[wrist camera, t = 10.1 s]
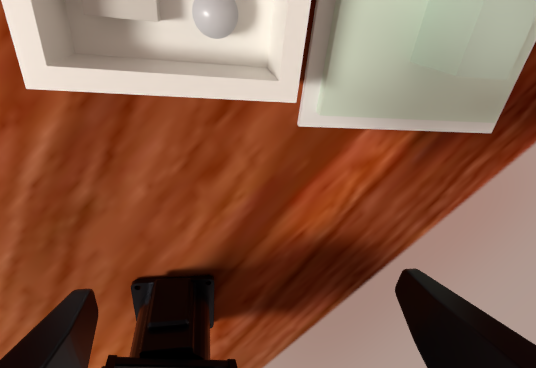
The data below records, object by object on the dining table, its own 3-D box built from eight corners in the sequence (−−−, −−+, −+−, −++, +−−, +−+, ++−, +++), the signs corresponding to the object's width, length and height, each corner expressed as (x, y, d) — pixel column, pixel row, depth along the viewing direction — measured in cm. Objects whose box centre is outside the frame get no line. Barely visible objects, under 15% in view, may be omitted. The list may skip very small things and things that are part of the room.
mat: (487, 131, 24) (491, 133, 23) (297, 124, 21) (298, 126, 20) (616, -142, 16) (624, -145, 16) (349, -216, 13) (352, -220, 13)
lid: (486, 119, 23) (547, 145, 19) (315, 111, 20) (344, 140, 16) (597, -124, 16) (730, -164, 12) (368, -182, 14) (438, -258, 9)
